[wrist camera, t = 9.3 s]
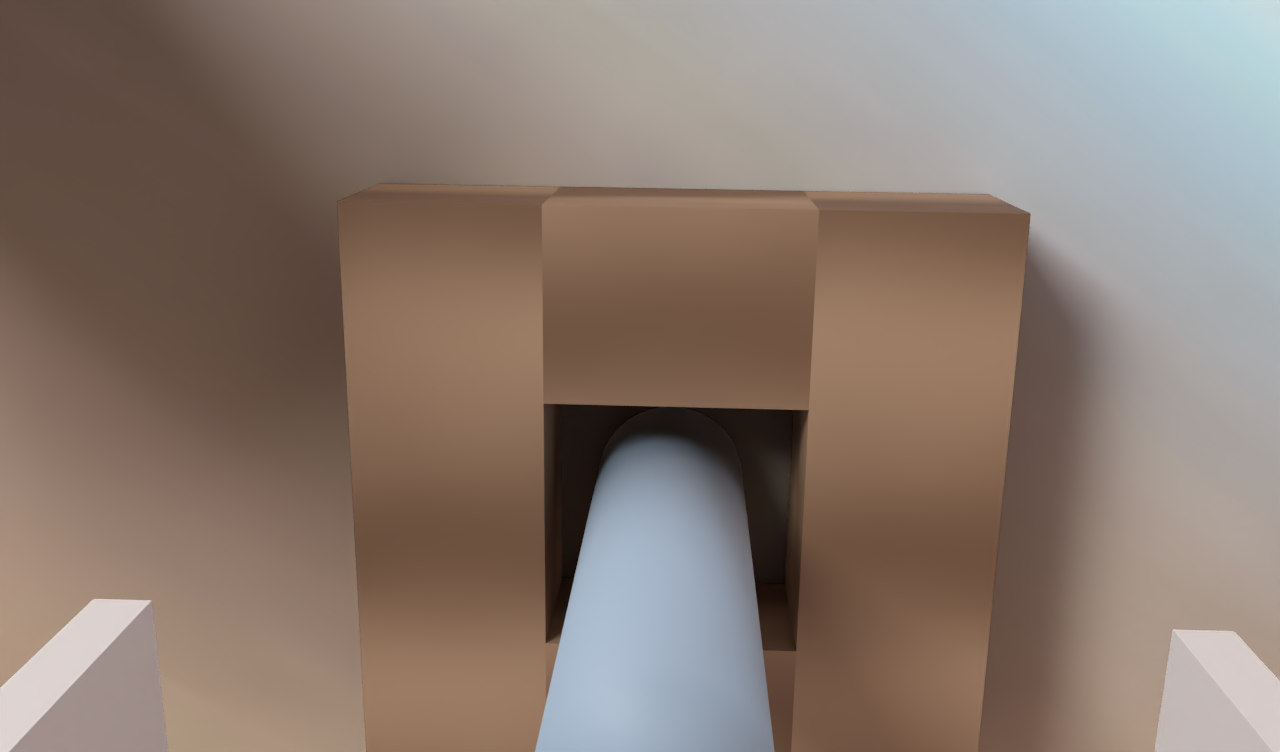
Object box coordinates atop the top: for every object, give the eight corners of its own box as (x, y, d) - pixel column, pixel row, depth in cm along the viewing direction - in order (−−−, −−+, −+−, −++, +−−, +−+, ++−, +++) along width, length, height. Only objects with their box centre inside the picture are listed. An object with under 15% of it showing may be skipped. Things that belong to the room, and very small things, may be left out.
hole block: (380, 183, 24) (337, 201, 21) (988, 194, 23) (1030, 214, 20) (403, 720, 27) (368, 800, 24) (940, 738, 26) (970, 822, 23)
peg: (600, 404, 25) (529, 668, 14) (744, 409, 25) (784, 679, 14) (598, 538, 26) (531, 884, 15) (738, 543, 25) (771, 895, 15)
